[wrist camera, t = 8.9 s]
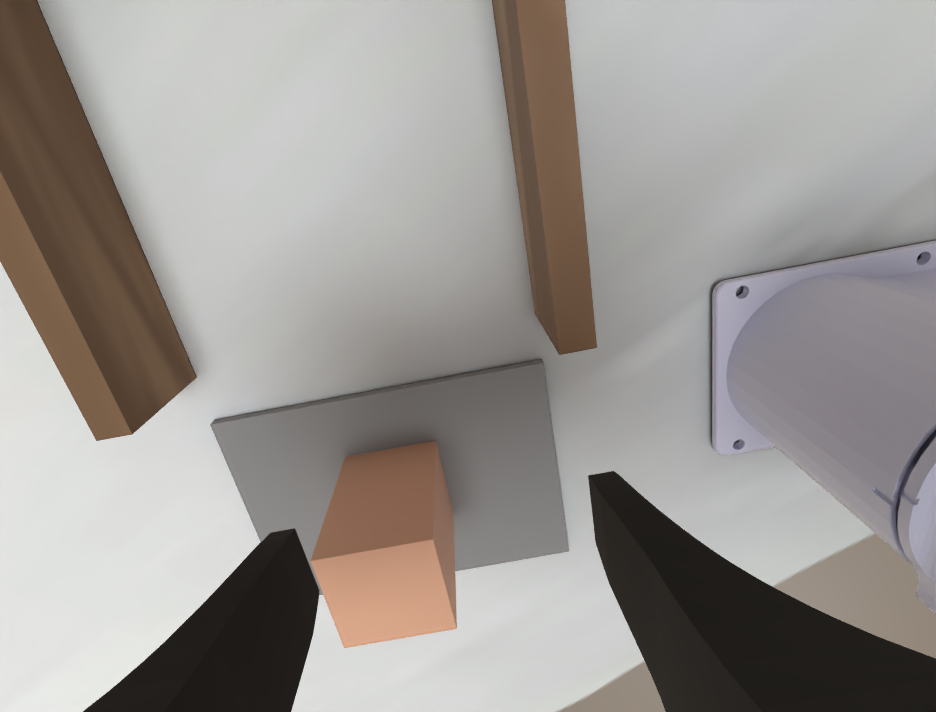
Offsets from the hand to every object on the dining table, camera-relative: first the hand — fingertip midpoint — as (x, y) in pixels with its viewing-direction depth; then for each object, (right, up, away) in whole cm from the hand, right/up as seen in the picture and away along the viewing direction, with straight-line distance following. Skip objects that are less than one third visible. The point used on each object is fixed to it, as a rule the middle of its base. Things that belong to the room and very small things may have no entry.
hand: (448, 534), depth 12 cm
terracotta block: (-3, -1, +10) cm, 11 cm away
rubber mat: (-2, -2, +11) cm, 11 cm away
